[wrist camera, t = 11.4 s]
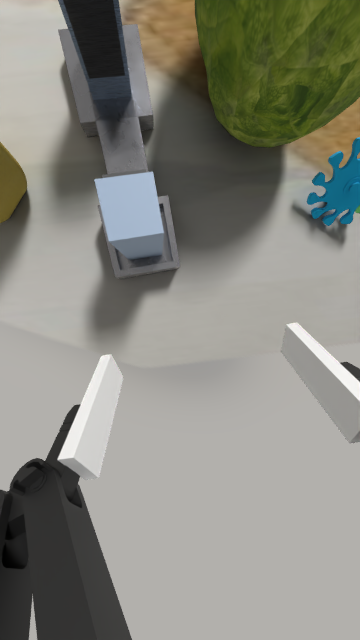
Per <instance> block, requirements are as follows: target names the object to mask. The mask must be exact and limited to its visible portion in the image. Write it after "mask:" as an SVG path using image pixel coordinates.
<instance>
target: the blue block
mask: <svg viewBox="0 0 360 640" xmlns="http://www.w3.org/2000/svg"><path fill="white" fill-rule="evenodd" d="M94 181H95V185H96V189H97V193H98V198H99V202H100V206H101V210H102V215H103V219H104V223H105V227H106V231H107V236H108V240H109V242H110V243H111V244H112V245H113V246H114V247H115V248H116V249H118V250H119V251H120V252H121V253H122V254H123V255H124V256H125V257H126V258H127V259H128V260H134V259H140V258H146V257H152V256H158V255H162V251H163V238H164V230H163V225H162V219H161V214H160V208H159V203H158V197H157V191H156V186H155V180H154V175H153V172H146V169H143V170H135V171H127V172H119V173H112V174H104V175H102V178H100V179H94Z"/></svg>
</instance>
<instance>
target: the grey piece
mask: <svg viewBox="0 0 360 640" xmlns="http://www.w3.org/2000/svg"><path fill="white" fill-rule="evenodd" d="M58 1H59V4H60V7H61V10H62V12H63V15H64V18H65V21H66V24H67V27H68V29H62V30H58V32H59V36H60V40H61V44H62V48H63V52H64V57H65V61H66V65H67V69H68V73H69V78H70V82H71V86H72V90H73V94H74V99H75V103H76V107H77V111H78V115H79V120H80V123H81V125H82V127H83V130H84V132H85V134H86V136H87V137H90V136H98V135H99V137H100V142H101V146H102V151H103V155H104V160H105V164H106V169H107V173H108V174H112V173H119V172H127V171H135V170H143V169H146V172H148V167H147V162H146V156H145V151H144V145H143V140H142V135H141V131H142V130H151V129H154V128H153V112H152V106H151V101H150V95H149V89H148V83H147V77H146V72H145V66H144V60H143V54H142V49H141V43H140V37H139V31H138V25H137V24H134V25H122V21H121V14H120V7H119V0H58ZM158 203H159V208H160V214H161V219H162V225H163V230H164V238H163V251H162V255H158V256H152V257H146V258H140V259H134V260H128V259H127V258H126V257H125V256H124V255H123V254H122V253H121V252H120V251H119V250H118V249H116V248H115V247H114V246H113V245H112V244H111V243H110V242H109V240H108V236H107V231H106V227H105V223H104V219H103V215H102V210H101V206H100V205H98V208H99V212H100V217H101V221H102V225H103V229H104V233H105V237H106V242H107V246H108V250H109V254H110V258H111V262H112V267H113V271H114V275H115V278H119V279H123V278H128V277H134V276H140V275H145V274H151V273H157V272H163V271H168V270H174V269H178V268H179V267H180V262H179V256H178V250H177V244H176V238H175V233H174V227H173V221H172V215H171V209H170V203H169V198H168V195H167V196H160V197H158Z"/></svg>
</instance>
